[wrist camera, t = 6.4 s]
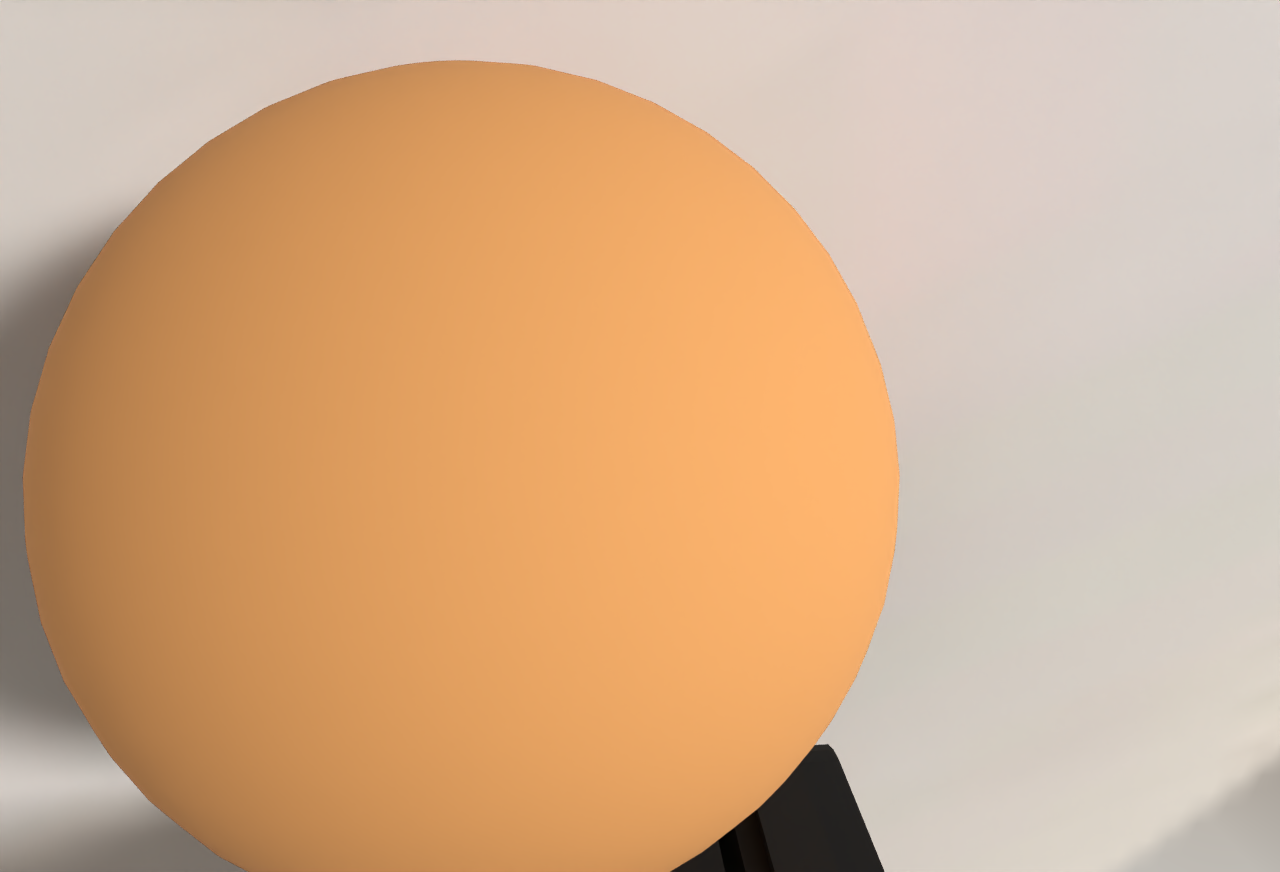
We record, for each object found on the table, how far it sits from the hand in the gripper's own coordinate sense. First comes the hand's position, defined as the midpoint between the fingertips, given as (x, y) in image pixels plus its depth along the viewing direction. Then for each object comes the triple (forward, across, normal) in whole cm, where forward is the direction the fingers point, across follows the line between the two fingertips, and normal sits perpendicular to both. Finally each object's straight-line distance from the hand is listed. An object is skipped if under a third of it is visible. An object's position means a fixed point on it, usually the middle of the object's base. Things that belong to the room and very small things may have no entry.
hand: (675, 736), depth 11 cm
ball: (-2, +2, -4) cm, 5 cm away
